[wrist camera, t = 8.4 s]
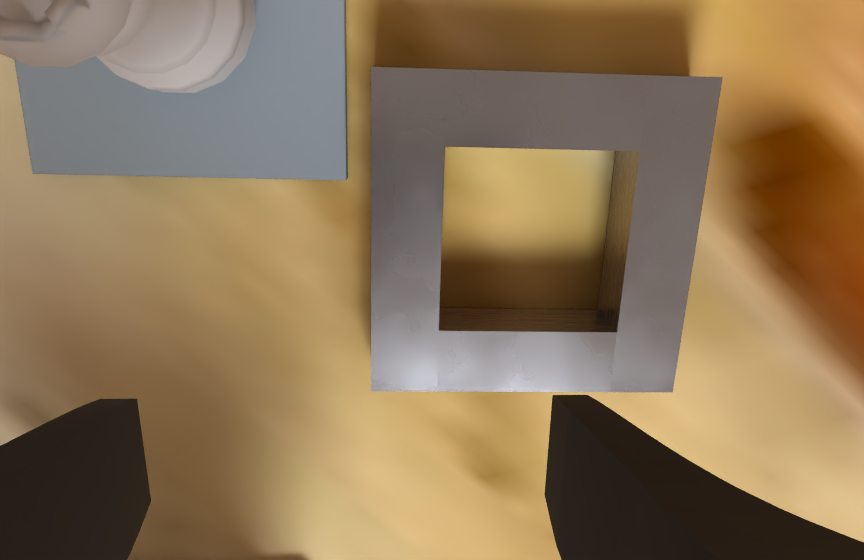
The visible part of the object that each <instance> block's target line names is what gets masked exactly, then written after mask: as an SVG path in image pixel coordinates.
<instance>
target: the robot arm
mask: <svg viewBox="0 0 864 560" xmlns="http://www.w3.org/2000/svg"><path fill="white" fill-rule="evenodd" d="M545 498H546V502H547V507H548V511H549V516H550V520H551V525H552V529H553V533H554V537H555V541H556V545H557V548H558V551H559V554H560V556H561V559H562V560H864V542H861V541H858V540H855V539H853V538H850V537H848V536H845V535H843V534H840V533H838V532H835V531H833V530H830V529H828V528H825V527H823V526H820V525H817V524H815V523H812V522H810V521H807V520H805V519H803V518H800V517H798V516H796V515H794V514H791V513H789V512H787V511H784V510H782V509H780V508H778V507H776V506H774V505H772V504H770V503H768V502H766V501H763V500H761V499H759V498H757V497H755V496H753V495H751V494H749V493H747V492H745V491H743V490H741V489H739V488H737V487H735V486H733V485H731V484H729V483H727V482H726V481H724V480H722V479H720V478H718V477H717V476H715V475H713V474H711V473H710V472H708V471H706V470H704V469H703V468H701V467H699V466H698V465H696V464H694V463H692V462H691V461H689V460H687V459H686V458H684V457H682V456H681V455H679V454H678V453H676V452H674V451H673V450H671V449H670V448H668V447H666V446H665V445H663V444H662V443H660V442H659V441H657V440H656V439H654V438H653V437H651V436H649V435H648V434H646V433H645V432H643V431H642V430H641V429H639V428H638V427H636V426H635V425H633V424H632V423H630V422H629V421H627V420H626V419H624V418H623V417H621V416H620V415H618V414H617V413H615V412H614V411H612V410H611V409H609V408H608V407H606V406H605V405H603V404H602V403H600V402H599V401H597V400H595V399H594V398H592V397H590V396H588V395H553V398H552V411H551V423H550V435H549V448H548V460H547V473H546V485H545ZM150 502H151V498H150V491H149V484H148V476H147V469H146V462H145V454H144V447H143V440H142V433H141V425H140V418H139V411H138V404H137V399H99V400H97V401H94V402H91V403H88V404H86V405H83V406H81V407H79V408H77V409H74V410H72V411H70V412H68V413H66V414H64V415H62V416H60V417H58V418H55V419H53V420H51V421H49V422H47V423H45V424H43V425H41V426H39V427H37V428H35V429H33V430H31V431H29V432H27V433H25V434H23V435H21V436H19V437H17V438H15V439H13V440H11V441H9V442H7V443H5V444H3V445H1V446H0V560H127V558H128V556H129V555H130V552H131V550H132V548H133V545H134V543H135V540H136V538H137V536H138V533H139V531H140V528H141V526H142V523H143V520H144V518H145V515H146V512H147V510H148V507H149V505H150Z"/></svg>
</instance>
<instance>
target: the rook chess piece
mask: <svg viewBox="0 0 864 560" xmlns="http://www.w3.org/2000/svg"><path fill="white" fill-rule="evenodd" d="M255 27H256V23H255V4H254V0H0V54H2V55H5V56H7V57H10V58H12V59H14V60H17V61H19V62H21V63H24V64H26V65H28V66H40V67H70V66H72V65H75V64H77V63H80V62H82V61H84V60H87V59H89V58H92V57H94V56H96V57H97V58H98V59H100V60H101V61H102V62H103V63H104V64H105V65H106V66H107V67H108V68H109V69H110V70H111V71H112V72H113V73H115V74H116V75H117V76H119V77H121V78H123V79H126V80H128V81H130V82H132V83H135V84H137V85H139V86H142V87H144V88H146V89H149V90H158V91H161V92H176V93H196V92H198V91H200V90H203V89H205V88H208V87H210V86H213V85H215V84H217V83H220V82H222V81H224V80H225V79H226V78H227V77H228V76H229V74H230V73H231V72H232V71H233V70H234V69H235V68H236V67H237V66H238V65H239V64H240V63H241V62H242V60H243V59H244V58H245V56H246V53H247V50H248V47H249V44H250V41H251V38H252V36H253V33H254V30H255Z"/></svg>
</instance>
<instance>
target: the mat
mask: <svg viewBox="0 0 864 560" xmlns="http://www.w3.org/2000/svg"><path fill="white" fill-rule="evenodd" d="M254 4H255V23H256V27H255V30H254V33H253V36H252V38H251V41H250V44H249V47H248V50H247V53H246V56H245V58H244V59H243V60H242V62H241V63H240V64H239V65H238V66H237V67H236V68H235V69H234V70H233V71H232V72H231V73H230V74H229V76H228V77H227V78H226V79H225V80H224V81H222V82H220V83H217V84H215V85H213V86H210V87H208V88H205V89H203V90H200V91H198V92H196V93H176V92H161V91H158V90H149V89H146V88H144V87H142V86H139V85H137V84H135V83H132V82H130V81H128V80H126V79H123V78H121V77H119V76H117V75H116V74H115V73H113V72H112V71H111V70H110V69H109V68H108V67H107V66H106V65H105V64H104V63H103V62H102V61H101V60H100V59H98V58H97V57H96V56H94V57H92V58H89V59H87V60H84V61H82V62H80V63H77V64H75V65H72V66H70V67H40V66H28V65H26V64H24V63H21V62H19V61H17V60H15V66H16V72H17V78H18V85H19V91H20V97H21V103H22V109H23V116H24V122H25V128H26V134H27V140H28V147H29V153H30V159H31V165H32V171H33V174H69V175H116V176H163V177H210V178H257V179H304V180H347V178H348V153H347V67H346V0H254Z"/></svg>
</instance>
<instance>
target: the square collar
mask: <svg viewBox="0 0 864 560" xmlns="http://www.w3.org/2000/svg"><path fill="white" fill-rule="evenodd" d="M722 78H723V77H693V76H660V75H628V74H595V73H562V72H529V71H497V70H464V69H431V68H398V67H371V391H487V392H673V386H674V379H675V373H676V367H677V361H678V354H679V348H680V342H681V335H682V329H683V323H684V317H685V310H686V304H687V298H688V291H689V285H690V279H691V273H692V266H693V260H694V254H695V247H696V241H697V235H698V229H699V222H700V216H701V210H702V203H703V197H704V191H705V184H706V178H707V172H708V166H709V159H710V153H711V147H712V140H713V134H714V128H715V122H716V115H717V109H718V103H719V96H720V90H721V84H722ZM445 146H446V147H488V148H529V149H570V150H612V151H616V154H615V162H614V171H613V180H612V189H611V197H610V206H609V215H608V224H607V232H606V241H605V250H604V259H603V267H602V276H601V285H600V294H599V302H598V309H516V308H439V306H440V276H441V247H442V217H443V188H444V159H445Z"/></svg>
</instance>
